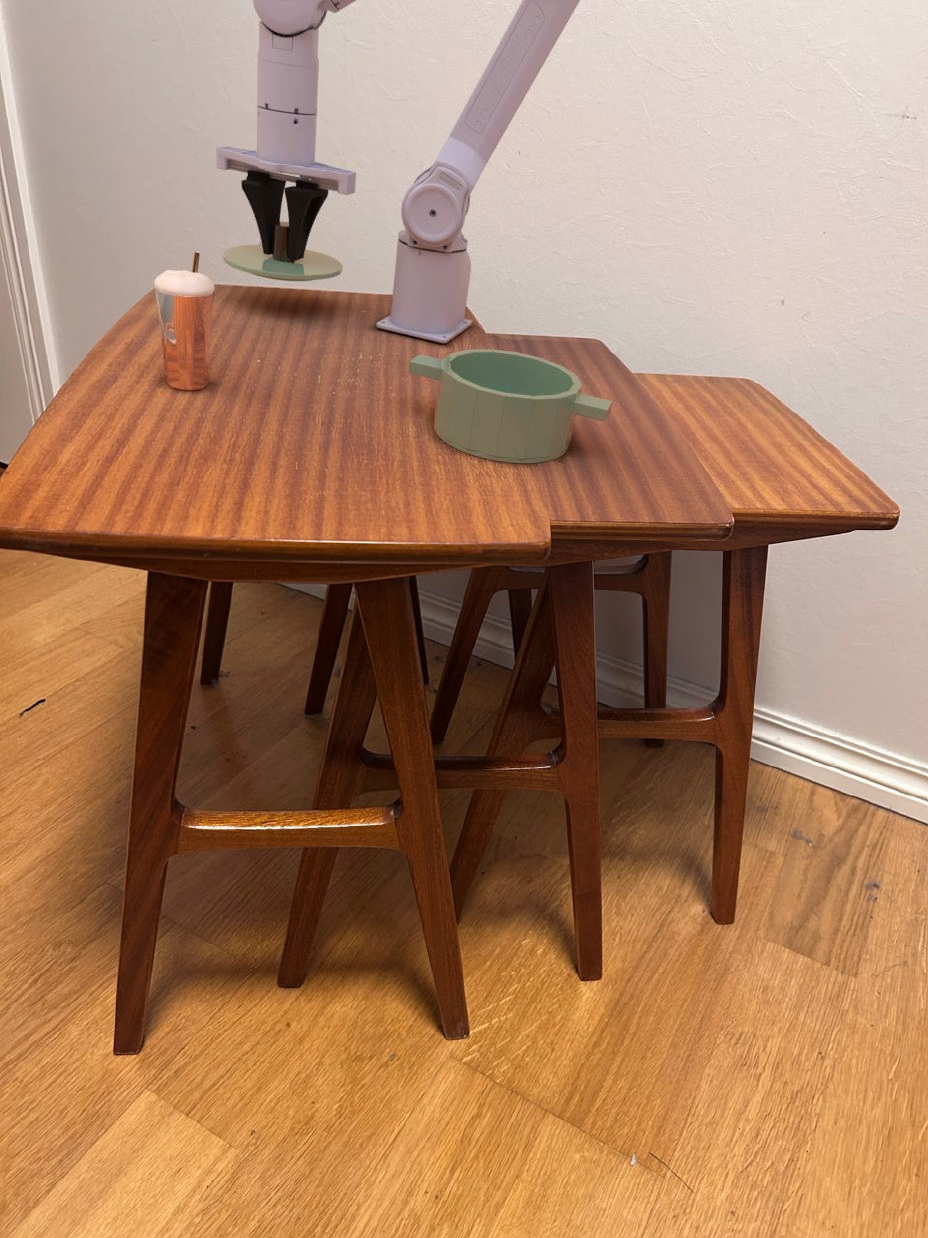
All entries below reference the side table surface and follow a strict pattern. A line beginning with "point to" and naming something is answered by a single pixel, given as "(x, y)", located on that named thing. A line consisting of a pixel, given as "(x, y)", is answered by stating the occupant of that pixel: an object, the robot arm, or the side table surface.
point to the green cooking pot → (506, 404)
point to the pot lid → (282, 260)
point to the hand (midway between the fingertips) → (283, 255)
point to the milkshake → (185, 325)
